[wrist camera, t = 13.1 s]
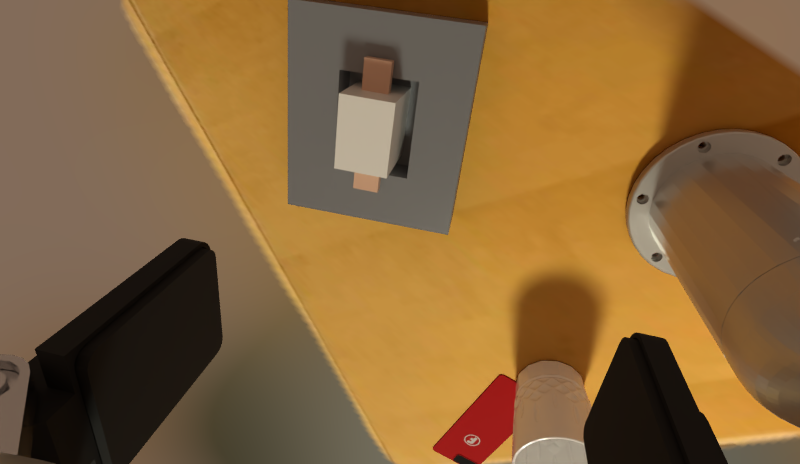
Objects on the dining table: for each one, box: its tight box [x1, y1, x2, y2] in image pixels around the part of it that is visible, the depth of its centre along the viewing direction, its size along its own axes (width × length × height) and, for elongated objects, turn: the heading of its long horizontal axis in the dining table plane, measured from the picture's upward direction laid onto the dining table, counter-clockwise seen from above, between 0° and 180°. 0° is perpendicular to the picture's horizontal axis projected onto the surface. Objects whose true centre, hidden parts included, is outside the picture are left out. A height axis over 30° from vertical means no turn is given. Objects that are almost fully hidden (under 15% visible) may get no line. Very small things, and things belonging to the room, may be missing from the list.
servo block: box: [334, 56, 411, 193], centre depth 36 cm, size 4×10×6 cm, turn 173°
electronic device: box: [433, 375, 516, 464], centre depth 53 cm, size 6×1×15 cm
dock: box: [288, 0, 488, 235], centre depth 38 cm, size 14×16×4 cm
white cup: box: [512, 361, 592, 464], centre depth 45 cm, size 8×8×10 cm
